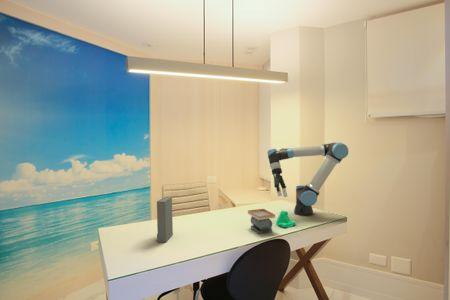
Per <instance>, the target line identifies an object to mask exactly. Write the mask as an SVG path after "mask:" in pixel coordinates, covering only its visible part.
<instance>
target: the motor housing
mask: <svg viewBox="0 0 450 300" xmlns="http://www.w3.org/2000/svg"><path fill="white" fill-rule="evenodd" d="M247 214H248V215H249V216H250V223H251V224H252V225H250V229H251V230H253V231H254V232H255V233H256V232H257V233H256V234H258V235H262V233H263V234H269V233H272V232H273V229H272V228H273V222H272V220H271V219H276V214H275V213H273V212H271V211H268V210H267V209H265V208H261V209H260V208H258V209H249V210H247Z"/></svg>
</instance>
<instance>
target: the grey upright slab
mask: <svg viewBox="0 0 450 300" xmlns="http://www.w3.org/2000/svg"><path fill="white" fill-rule="evenodd" d="M156 220H157V221H156V222H157V224H156V225H157V234H156V243H167V242H168V241H169V240H170V239H171V238H172V236H173V235H174V229H173V224H174V223H173V197H172V196H163V197H162V198H160V199H158V200H156Z"/></svg>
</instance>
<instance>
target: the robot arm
mask: <svg viewBox="0 0 450 300" xmlns="http://www.w3.org/2000/svg"><path fill="white" fill-rule="evenodd" d="M266 153H267V158H268V161H269V168H270V169H271V174H272V175H273V183H274V188H275V189H276V193H277V197H283V198H286V197H288V194H287V186H286V183H285V181H284V178H283V175H281V174H282V173H283V170H282V168H281V163H280V161H283V160H284V161H285V160H289V159H293V158H300V157H313V156H314V157H315V156H322V157H325V159H324V160H323V162H322V164H321V165H320V167H319V168H318V170H317V172H316V173H315V175H314V176H313V177H312V179H311V181H309V183H308V184H307V183H306V184H304V185H303V184H302V185H296V186H295V207H294V209H293V213H294V214H295V215H296V216H301V217H302V216H306V217H310V216H313V215H314V210H313V207H312V206H315V204H316V203H317V202H318V196H319V195H320V190H321V189H322V187H323V185H324V183H326V181H327V180H328V178H329V176H330V174H331V173H332V171H333V170H334V169H335V167H336V166H337V165H338V164H341V162H342V160H343V159H345V158H347V157H348V155H349V148H348V146H347V145H346V144H345V143H342V142H330V143H326V144H325V143H324V144H323V143H322V144H321V145H315V146H314V145H313V146H304V147H303V146H301V147H300V146H299V147H290V148H289V147H288V148H281V149H279V150H278V149H276V148H270V149H268V150H267V152H266Z"/></svg>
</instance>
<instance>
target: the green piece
mask: <svg viewBox="0 0 450 300" xmlns="http://www.w3.org/2000/svg"><path fill="white" fill-rule="evenodd" d="M275 224H276V225H277V226H279V227H283V228H287V229H288V228H292V227H293V226H296V225H297V221H294V220H291V218H290V217H289V212H288V211H286V210H284V209H283V210H281V211H280V212H279V215H278V217H277V220H276V222H275Z"/></svg>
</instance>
